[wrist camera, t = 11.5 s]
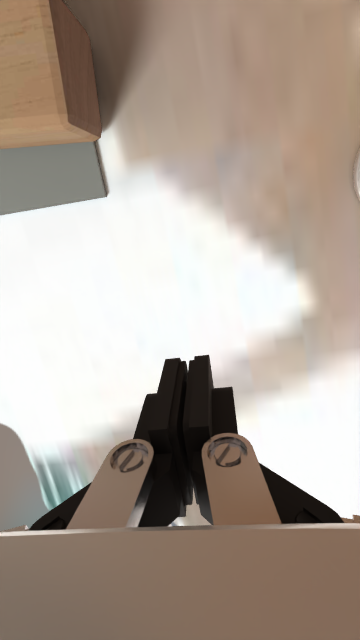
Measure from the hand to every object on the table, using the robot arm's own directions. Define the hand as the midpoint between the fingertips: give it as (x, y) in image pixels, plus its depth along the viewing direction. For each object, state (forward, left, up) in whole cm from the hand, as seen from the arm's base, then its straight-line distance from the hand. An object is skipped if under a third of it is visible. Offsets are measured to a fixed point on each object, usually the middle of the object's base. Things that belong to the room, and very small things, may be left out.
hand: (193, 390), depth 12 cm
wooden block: (+9, -19, -26) cm, 33 cm away
